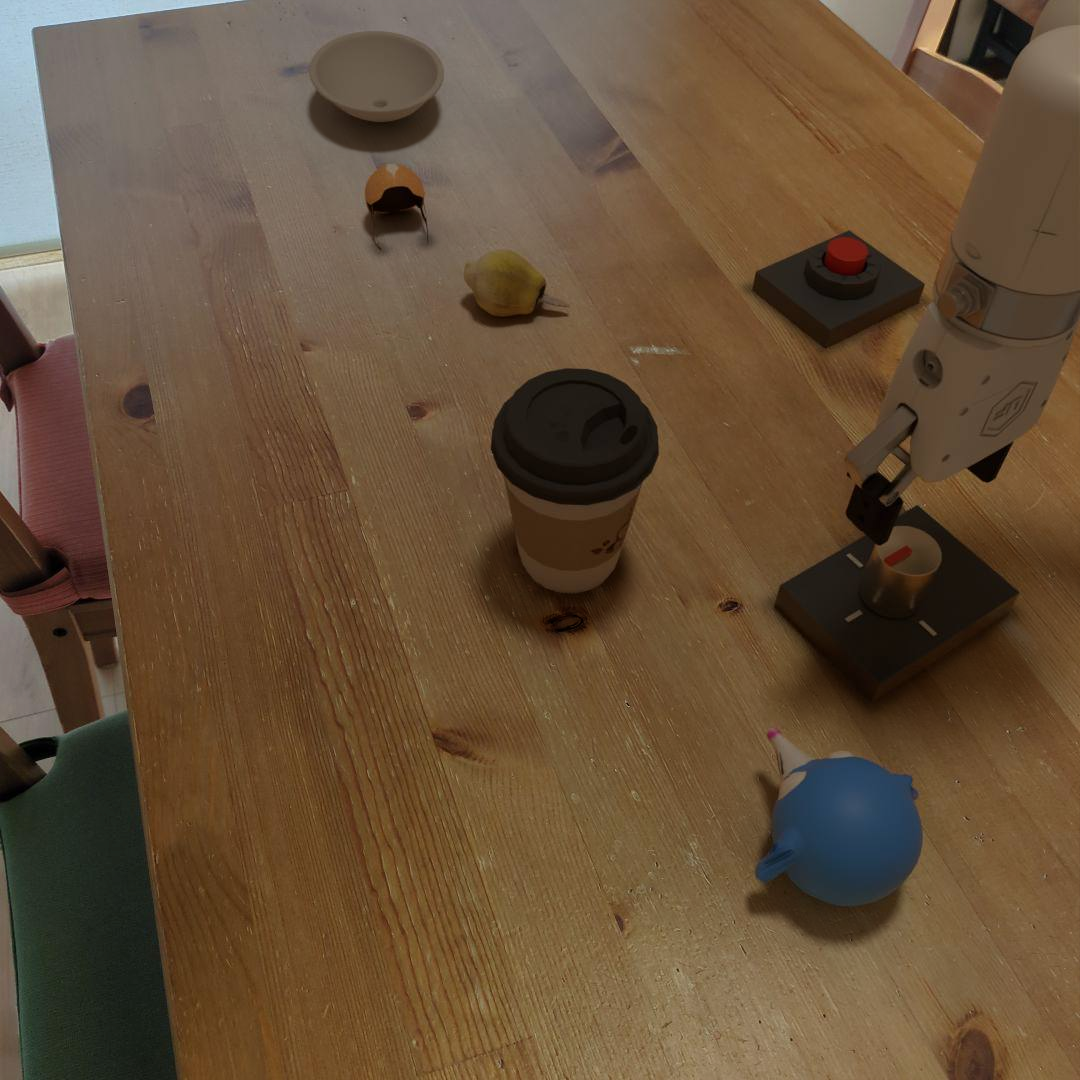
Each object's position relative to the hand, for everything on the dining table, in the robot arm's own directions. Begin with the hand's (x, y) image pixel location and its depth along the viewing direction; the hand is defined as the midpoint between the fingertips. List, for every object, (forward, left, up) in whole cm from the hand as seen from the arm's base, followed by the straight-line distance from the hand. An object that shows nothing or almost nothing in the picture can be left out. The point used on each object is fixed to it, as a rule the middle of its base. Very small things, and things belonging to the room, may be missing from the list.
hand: (920, 498), depth 71 cm
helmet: (+5, -61, -13) cm, 62 cm away
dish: (-4, -81, -13) cm, 82 cm away
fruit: (+2, -44, -13) cm, 46 cm away
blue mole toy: (+15, +10, -13) cm, 23 cm away
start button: (-24, -29, -9) cm, 38 cm away
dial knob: (-1, 0, -10) cm, 10 cm away
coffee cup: (+15, -17, -13) cm, 26 cm away
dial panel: (-2, 0, -13) cm, 13 cm away
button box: (-24, -29, -13) cm, 39 cm away
